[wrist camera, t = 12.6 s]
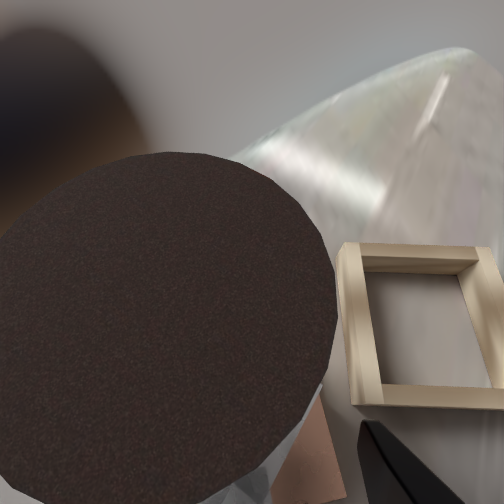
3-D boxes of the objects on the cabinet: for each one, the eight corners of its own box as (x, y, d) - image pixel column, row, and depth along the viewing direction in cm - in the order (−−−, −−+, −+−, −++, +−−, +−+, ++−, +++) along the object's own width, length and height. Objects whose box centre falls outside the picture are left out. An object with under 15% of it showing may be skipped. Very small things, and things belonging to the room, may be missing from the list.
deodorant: (267, 326, 20) (307, 146, 6) (276, 432, 17) (383, 498, 4) (176, 332, 19) (22, 157, 6) (170, 440, 16) (-137, 542, 3)
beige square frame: (517, 411, 18) (554, 410, 16) (351, 404, 18) (365, 403, 16) (466, 263, 23) (489, 247, 21) (335, 258, 23) (344, 242, 21)
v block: (133, 338, 20) (114, 325, 17) (293, 308, 21) (300, 291, 18) (134, 546, 15) (108, 577, 12) (342, 493, 16) (362, 509, 13)
